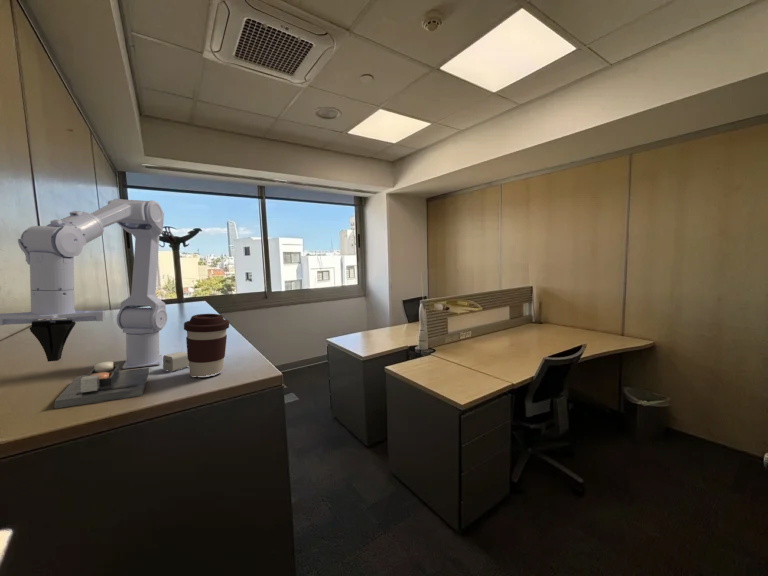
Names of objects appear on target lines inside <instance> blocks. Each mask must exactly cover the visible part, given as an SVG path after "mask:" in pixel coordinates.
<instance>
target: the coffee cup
mask: <svg viewBox="0 0 768 576" xmlns="http://www.w3.org/2000/svg"><path fill="white" fill-rule="evenodd" d="M229 328H230V321H229V320H228V319H225V318H224V316H223V315H222V314H220V313H218V314H217V313H200V314H194V315H192V316H191V317H190V319H189V320H186V321H185V322H184V323H183V330H184V331H186V337H185V340H186V342H185V343H186V353H187V356H188V360H189V367H188V368H189V375H190V377H192V376H196V377H198V376H206V375H211V374H215V373H218V372H220V371H221V370H222V369H224V359H225V357H226V347H227V337H228V336H227V329H229ZM222 371H223V370H222Z"/></svg>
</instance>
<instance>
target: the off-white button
mask: <svg viewBox="0 0 768 576" xmlns="http://www.w3.org/2000/svg"><path fill="white" fill-rule="evenodd" d="M113 366H114V362H113V361H102V362H98V363H95V364H94V368H95V372H107V371H111V370H113Z"/></svg>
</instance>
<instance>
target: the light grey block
mask: <svg viewBox="0 0 768 576" xmlns="http://www.w3.org/2000/svg"><path fill="white" fill-rule="evenodd" d="M98 389H99V375H94V376H85V377H83V378H82V379H81V393H83V392H90V391H97V390H98Z"/></svg>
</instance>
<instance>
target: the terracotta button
mask: <svg viewBox="0 0 768 576" xmlns="http://www.w3.org/2000/svg"><path fill="white" fill-rule="evenodd" d="M94 375H99V379H103V378H109V373H108V372H101V373H95V374H92V375H90V376H94Z"/></svg>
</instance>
